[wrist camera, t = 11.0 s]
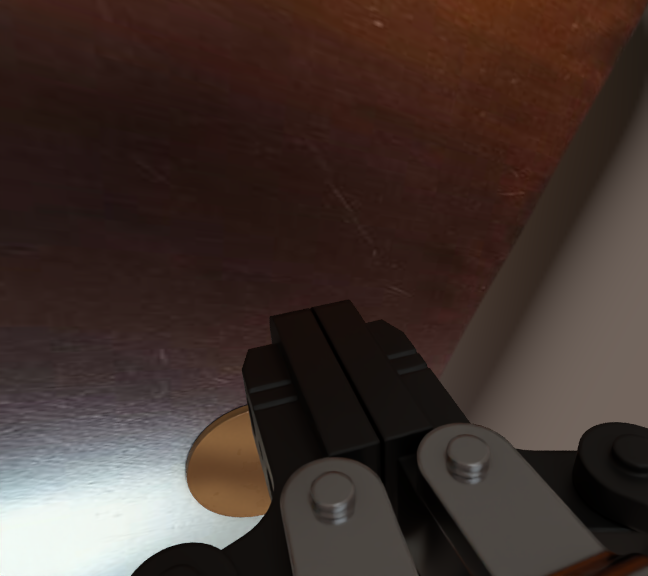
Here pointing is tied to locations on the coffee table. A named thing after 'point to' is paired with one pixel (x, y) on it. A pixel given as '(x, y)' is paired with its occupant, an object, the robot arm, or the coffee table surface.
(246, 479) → the coaster
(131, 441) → the coffee table surface
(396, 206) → the coffee table surface
